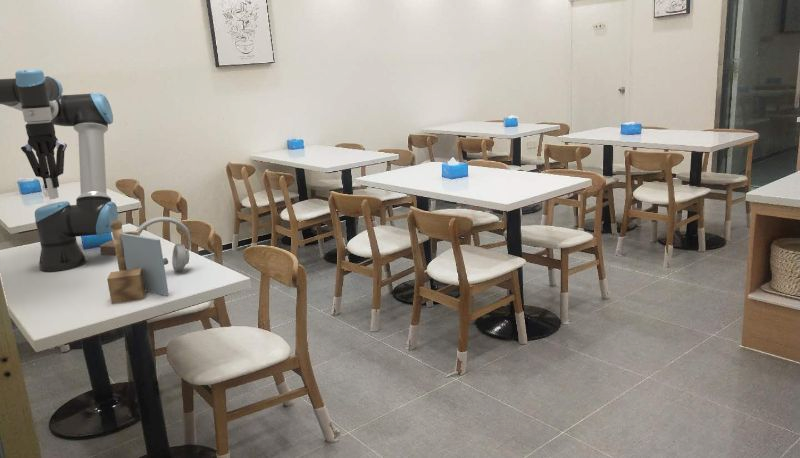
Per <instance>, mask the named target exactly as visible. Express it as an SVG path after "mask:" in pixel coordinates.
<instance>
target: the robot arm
mask: <svg viewBox="0 0 800 458" xmlns="http://www.w3.org/2000/svg"><path fill="white" fill-rule="evenodd" d="M14 76H15V77H14V78H0V105H4V106H5V107H9V108H13V109H15V110H18V111H20V112H22V116H23V120H24V123H26V124H25V125H24V126H25V130H26V131H25V132H26V136H27V138H28V139H27V143H26V144H25V145H23V146H21V147H20V150H21V152H23V153H24V154H25V156H26V159H27V160H28V163H29V165H30V166H31V169H32V172H33V173H34V175H35V177H38V178H42V180H43V181H42V182H43V185H44V186H43V187H44V188H45V189H47V192H48V193H47V194H48V197H49V200H55V199H58V198H60V196H59V192H58V188H60V182H59V176H61V175H63V174H64V169H65V166H64V165H65V151H66V149H67V147H68V146H67V145H68V144H66V143H62V142H60V141H59V139H58V138H57V135H56V128H55V126H60V127H73V130H74V131H75V132H76V133H78V134H77V135H78V155H79V157H78V159H79V160H78V162H79V180H80V181H79V182H80V183H79V184H80V195H79V196H77V198H76V201H75V202H76V203H75V204H72V205H71V203H70V201H68V200H66V201H65V200H64V201H58V202H53V203H49V204H46V205H43V206H40V207H38V208H37V209H35V211H34V217H35V225H36V229H37V233H38V238H39V242H40V248H41V249H40V255H39V261H38V265H39V270H40V271H43V272H57V271H59V272H60V271H65V270H66V271H67V270H70V269H75V268H77V267H80V266H81V265H84V264H85V263H86V262H87V260H86V256H85V253H84V252H83V251H82V248H81V247H80V245H79V244H78V241H77V240H78V239H77V237H89V236H98V235H99V236H102V235H106V234H111V233H112V228H111V226H110V225H111V222H112V221H114V220H119V216H118V215H119V214H118V212H119V211H118V206H117V204H116V203H115V202H114V201H112V198H111V196H109V195H108V194H107V180H106V179H107V177H106V176H107V175H106V157H105V155H106V154H105V153H106V152H105V133H106V132H107V131H108V130H109V125H112V124H113V123H114V114H113V110H112V108H111V104H110V102H109V100H108V98H107V96H106V95H105V94H103V93H99V92H97V93H94V92H90V93H77V94H63V93H64V92H63V91H64V90H63V85H62V83H61V82H60V81H59V80H58V79H56V78H55V77H51V76H49V75H48V76H45V73H44V72H43V70H41V69H20V70H16V72H15V75H14ZM55 149H56V154H55ZM55 155H56V157H55ZM55 158H56V159H55Z"/></svg>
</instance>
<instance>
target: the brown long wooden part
mask: <svg viewBox="0 0 800 458" xmlns="http://www.w3.org/2000/svg"><path fill="white" fill-rule="evenodd" d="M110 226H111V228H112V232H111V233H112V238H113V239H112V240H114V244H115V250H116V255H115V256H116V261H117V266H118V271H123V270H127V269H126V263H125V257H124V252H123V248H122V243H121V235H120V234H122V233H125V234H131V235H137V236H141V234H139V231H136V230H134V231H132V230H131V231H124V230H123V223H122V221H120V220H119V219H117V220H114V221H112V222H111V225H110Z"/></svg>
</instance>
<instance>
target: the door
mask: <svg viewBox="0 0 800 458" xmlns="http://www.w3.org/2000/svg"><path fill="white" fill-rule="evenodd" d="M120 235H121V243H122V248H123V252H124V257H125V263H126V269H127V270H131V269H139V268H142V271H143V277H144V283H145V289H146V292H147V291H148V292H151V293H155V294H160V295H164V296H168V295H169V288H168V282H167V276H166V269H165V266H166V265H168V264H169V260H168V258H167V257H163V256H164V255H163V250H162V249H163V248H162V244H161V239H160V238H154V237H148V236H141V235H140V236H137V235H131V234H125V233H122V234H120Z"/></svg>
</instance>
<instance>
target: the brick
mask: <svg viewBox="0 0 800 458" xmlns="http://www.w3.org/2000/svg"><path fill="white" fill-rule="evenodd" d="M99 249H100V250H99V252H100V256H116V250H115V244H114V239H112V240H108V241H107V242H104V243H102V244H100V245H99Z"/></svg>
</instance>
